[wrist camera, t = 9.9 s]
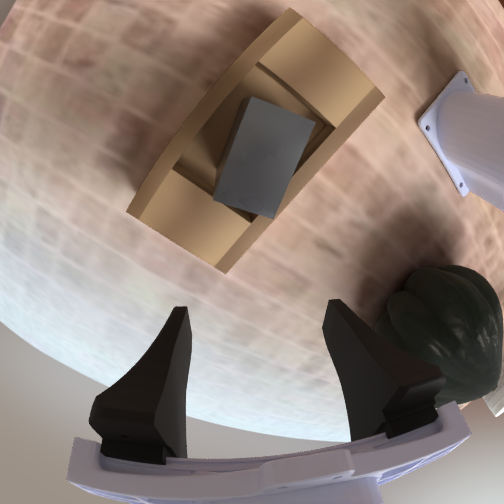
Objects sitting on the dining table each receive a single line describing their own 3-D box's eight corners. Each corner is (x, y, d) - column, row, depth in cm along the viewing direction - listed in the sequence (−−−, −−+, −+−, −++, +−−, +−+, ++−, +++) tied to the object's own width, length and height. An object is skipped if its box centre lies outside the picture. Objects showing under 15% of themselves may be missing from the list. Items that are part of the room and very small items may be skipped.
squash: (325, 365, 23) (426, 463, 16) (444, 228, 17) (550, 349, 11) (360, 327, 34) (431, 397, 28) (434, 237, 29) (509, 315, 23)
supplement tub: (452, 365, 38) (486, 425, 26) (461, 336, 34) (504, 404, 21) (489, 340, 37) (524, 393, 24) (500, 308, 32) (545, 367, 20)
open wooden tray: (364, 95, 17) (385, 97, 14) (225, 252, 22) (225, 274, 20) (280, 20, 14) (289, 7, 11) (138, 195, 19) (125, 211, 17)
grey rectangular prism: (287, 114, 16) (315, 122, 11) (259, 183, 19) (273, 219, 13) (243, 98, 16) (251, 96, 10) (216, 169, 18) (212, 200, 13)
